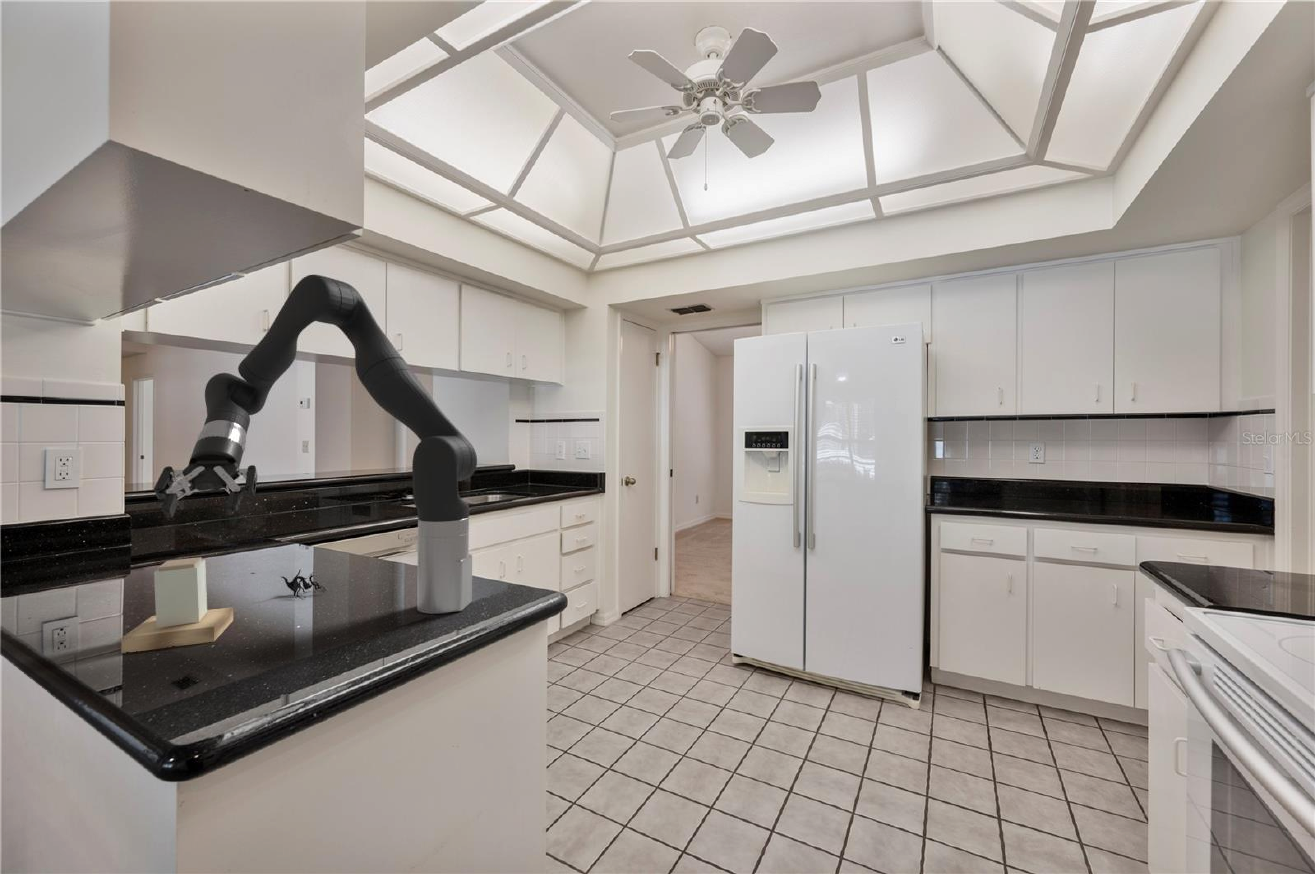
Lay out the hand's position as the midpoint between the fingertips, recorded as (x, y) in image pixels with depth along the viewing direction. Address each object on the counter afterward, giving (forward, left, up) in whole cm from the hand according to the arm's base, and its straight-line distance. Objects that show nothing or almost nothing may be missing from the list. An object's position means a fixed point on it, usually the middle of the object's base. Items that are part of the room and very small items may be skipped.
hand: (199, 513), depth 94 cm
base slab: (-4, +7, -20) cm, 21 cm away
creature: (-9, -16, -19) cm, 27 cm away
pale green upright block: (-3, +7, -17) cm, 18 cm away
